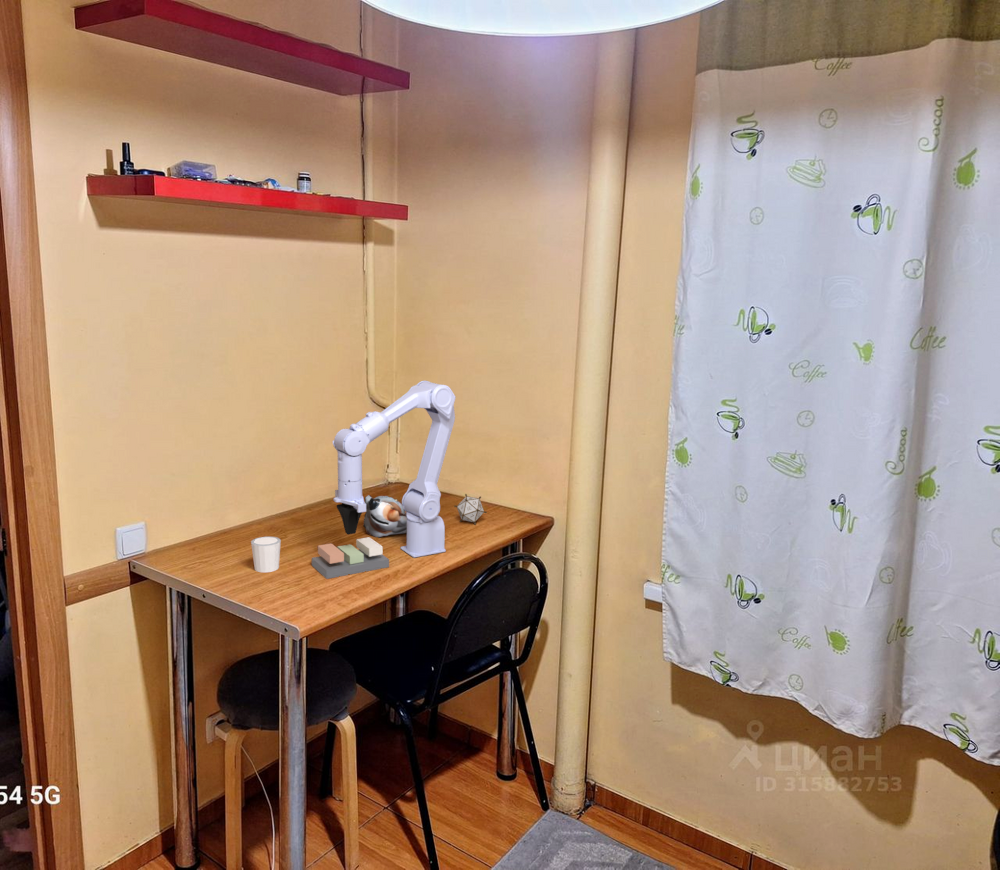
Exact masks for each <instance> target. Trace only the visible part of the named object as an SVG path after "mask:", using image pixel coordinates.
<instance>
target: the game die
mask: <svg viewBox="0 0 1000 870" xmlns="http://www.w3.org/2000/svg"><path fill="white" fill-rule="evenodd" d="M464 495H465V497H464V498H463V499H462V500H461V501H460V502H459V503H458V504H457V505H455V504H454V505H453V507H454V508H456V509H457V511H458V515H459V517H460V520H459V523H462V521H465V522H469V523H473V525H475V526H476V525H477V523H476V522H477V520H479V518H480V517H482V515H484V513H485V514H487V513H488V512H487V511H485V510H484V506H483V504H482V501H481V498H482V495H481V496H479V497H475V496H474V497H473V496H468V494H467V493H465V494H464Z"/></svg>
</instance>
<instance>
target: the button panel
mask: <svg viewBox="0 0 1000 870" xmlns="http://www.w3.org/2000/svg"><path fill="white" fill-rule="evenodd" d="M358 550H359V551H360V552H362V551H361V550H360V549H358ZM362 553H363V554H364V562H360V563H355V564H349V563H348V562H346V561H345V560H344V561H343V562H337V563H332V564H330V563H328V562H327V561H326V560H325V559H324V558H323V557H321V556H320V555H319V556H313V557H311V566H312V567H313V568H314V569H315V570H316V571H317V572H318V573H319V574H320V575H322V576H323V577H324V578H325V579H326V580H328V579H329V580H330V579H334V578H339V576H340V577H344V576H349V575H348V574H350V575H354V574H359V573H364V572H365V571H366V572H369V571H375V570H380V569H381V568H382V569H386V568H390V559H389V558H388V557H387V556H385V555H384V554H382V555H376V556H370V557H369V556H368V555H366V554H365V553H364V552H362Z"/></svg>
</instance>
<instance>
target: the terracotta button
mask: <svg viewBox="0 0 1000 870" xmlns="http://www.w3.org/2000/svg"><path fill="white" fill-rule="evenodd" d="M337 547H338V546H335V545H334V544H333V543H326V544H319V545H317V554H318V555H319V556H321V557H323V558H324V559H325V560H326V561H327V562H328V563H330V564H332V563H337V562H343V561H344V553H343V552H342V551H340V550H339V549H338V548H337Z"/></svg>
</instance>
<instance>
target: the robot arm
mask: <svg viewBox="0 0 1000 870" xmlns="http://www.w3.org/2000/svg"><path fill="white" fill-rule="evenodd" d="M455 395H456V394H454V392H453V390H452V389H451V387H450V386H448V385H446V384H439V383H437V382H436V383H435V382H431V381H428V380H422V381H419V382H418V383H417V384H414V385H412V386H411V387H410V388H409V390H408V391H407V392H406V393H404V394H403V395H402V396H400V397H399V398H397V399H396V400H395V401H394V402H393V403H391V404H390V405H389V406H388V407H386V408H384V409H383V410H382V411H380V412H379V411H375V410H374V411H368V412H367V413H365V417H363V418H361V419H360V420H359V421H358V422H356V423H351V424H350V425H349V428H342V429H340V430H339V431H338V432H336V435H335V436H334V439H333V440H332V445H333V447H334V449H335V450H336V452H337V489H336V490H334V492H335V493H334V497H333V501H334V502H335V503H338V504H337V505H336V509H337V510H338V512H339V515H340V516H341V519H342V523H343V528H344V532H345V534H346V535H348V536H349V535H354V534H357V530H358V529H357V528H358V525H359V521H360V518H361V516H362V513H366V503H365V497H364V496H363V458H362V457H363V454H364V452H365V451H366V449H367V446H368V445H369V444H370V443H371V442H373V441H375V440H376V439H377V438H379V437H381V436H382V435H383V434H384V433H386V432H387V431H388V430H389V426H390V424H392V422H393V423H394V422H395V421H396V420H398V419H399V418H401V417H403V416H404V415H406V414H407V413H409V412H411V411H413V410H414V409H424V410H425V411H426V412H427V414H428V416H429V417H430V419H431V424H430V428H429V432H428V436H427V438H426V443H425V447H424V451H423V454H422V458H421V461H420V465H419V469H418V472H417V476H416V478H415V479H414V480H412V482H410V484H409V486H408V488H407V490H406V492H405V493H404V494H403V496H402V499H401V504H402V507H403V509H404V510H405V513H406V516H407V533H406V545H404V546H400V548H399V549H400V550H401V551H403V552H405V553H407V554H408V555H409V556H411V557H412V558H419V557H424V556H430V555H435V554H440V553H445V552H446V551H447V549H446V548H445V541H446V540H445V537H446V535H445V534H446V533H445V532H446V531H445V529H446V527H445V522H444V519H443V518H442V517H441V516H440V515H439V514H440V511H441V504H440V499H441V496H442V492H441V491H440V489H439V487H438V481H439V479H440V476H441V475H440V474H441V471H442V468H443V464H444V460H445V457H446V453H447V449H448V447H449V444H450V443H449V442H450V438H451V434H452V431H453V428H454V425H455V420H456V416H455V415H456V414H455V406H454V405H455V401H456V397H457V396H455ZM339 503H340V504H339Z"/></svg>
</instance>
